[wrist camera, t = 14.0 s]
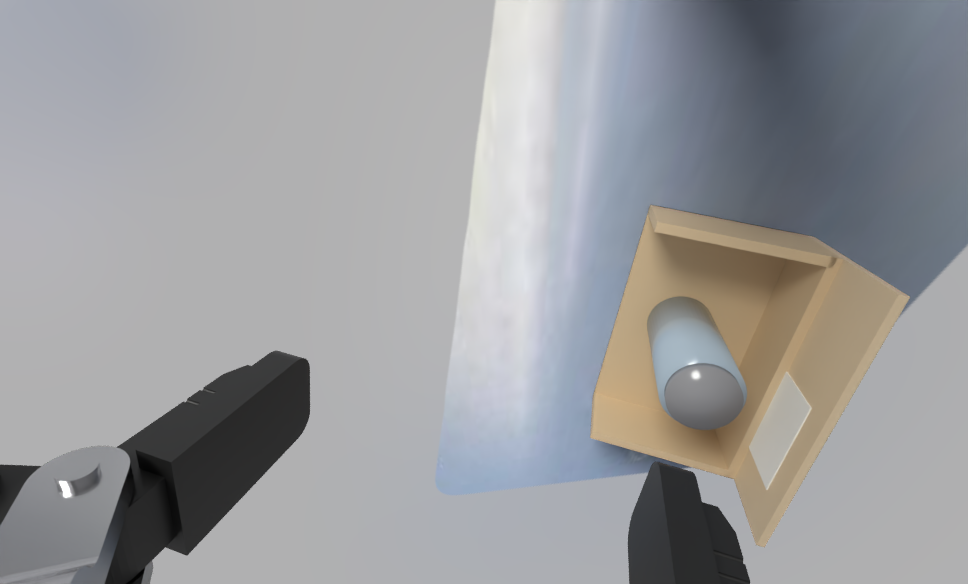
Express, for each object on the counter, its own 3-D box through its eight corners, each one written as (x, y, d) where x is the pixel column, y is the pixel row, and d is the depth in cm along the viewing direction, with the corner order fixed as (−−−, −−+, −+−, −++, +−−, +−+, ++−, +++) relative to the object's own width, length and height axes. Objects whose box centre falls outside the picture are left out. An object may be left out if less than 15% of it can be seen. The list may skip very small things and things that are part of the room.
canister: (657, 289, 44) (674, 354, 32) (722, 305, 43) (764, 377, 31) (639, 343, 46) (649, 420, 35) (700, 358, 45) (731, 444, 34)
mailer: (650, 204, 42) (667, 246, 29) (813, 236, 39) (910, 297, 27) (592, 396, 50) (587, 492, 38) (723, 432, 48) (764, 547, 35)
